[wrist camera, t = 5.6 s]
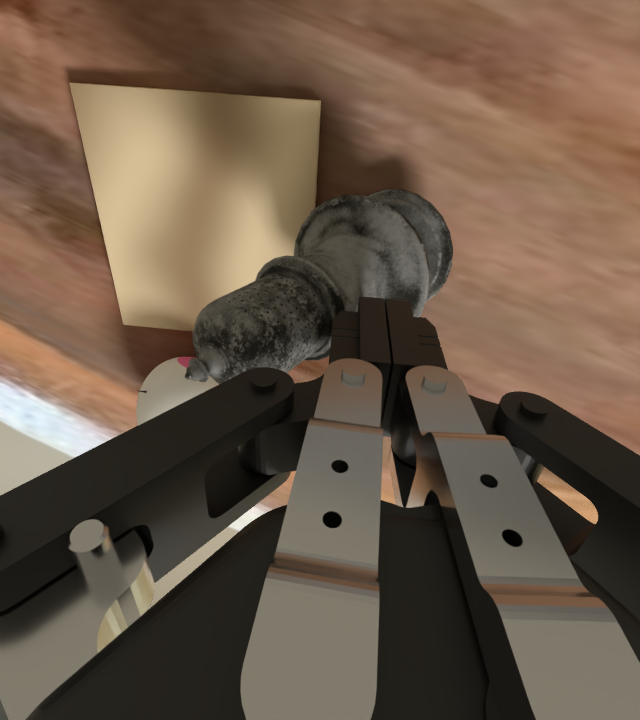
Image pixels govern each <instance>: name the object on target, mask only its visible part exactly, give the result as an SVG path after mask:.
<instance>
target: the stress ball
mask: <svg viewBox="0 0 640 720" xmlns="http://www.w3.org/2000/svg"><path fill="white" fill-rule="evenodd" d="M191 358H195V357H177V358H173V359H169V360H167V361H165V362H163V363H161V364H160V365H158V366H157V367H156V368H154V369H153V370H152V371H151V372H150V374H149V375H148V376H147V378H146V379H145V381H144V383H143V384H142V387H141V389H140V392H139V395H138V400H137V411H136V414H137V424H138V425H140V424H142V423H144V422H146V421H148V420H150V419H152V418H154V417H156V416H158V415H160V414H162V413H164V412H166V411H168V410H170V409H172V408H174V407H176V406H178V405H180V404H182V403H184V402H186V401H188V400H189V399H191V398H193V397H195V396H197V395H199V394H201V393H203V392H205V391H207V390H209V389H211V388H213V387H215V386H217V385H219V384H218V383H217V382H216V381H215V380H214V379H212V378H211V377H210V376H208V380H207V381H206V382H200V381H193V380H191V379H190V380H187V379H186V378H185V374H186V368H187V367H188V366H189V360H190V359H191ZM197 359H198V358H197Z"/></svg>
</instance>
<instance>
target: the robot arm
mask: <svg viewBox="0 0 640 720" xmlns="http://www.w3.org/2000/svg"><path fill="white" fill-rule="evenodd" d="M383 436H388V437H391V447H390V452H389V457H388V461H389V467H390V473H391V478H392V484H393V490H394V495H395V501H396V505H395V504H391V503H388V502H385V501H382V500H381V475H382V450H383ZM544 467H546V468H547V469H548V470H550V471H551V472H552V473H554V474H555V475H557V476H558V477H559V478H561V479H562V480H563V481H565V482H566V483H568V484H569V485H570V486H572V487H573V488H574V489H576V490H577V491H579V492H580V493H581V494H583V495H584V496H585V497H587V498H588V499H589V500H590V501H591V502H592V503H593V504H594V506H595V507H596V509H597V512H598V521H597V523H596V525H595V524H593V523H591V522H589V521H588V520H586V519H585V518H584V517H583V516H581V515H580V514H579V513H577V512H576V511H575V510H573V509H572V508H571V507H569V506H568V505H567V504H566V503H564V502H563V501H562V500H560V499H559V498H558V497H556V496H555V495H554V494H552V493H551V492H550V491H549V490H547V489H546V488H545V487H543V486H542V485H541V484H539V483H538V482H537V480H538V478H539V476H540V474H541V472H542V470H543V468H544ZM291 471H296V474H295V478H294V482H293V485H292V489H291V493H290V497H289V501H288V505H285V506H282V507H279V508H276V509H273V510H271V511H269V512H267V513H265V514H263V515H261V516H260V517H258V518H257V519H255V520H254V521H252V522H251V523H249V524H248V525H247V526H245V527H244V528H243V529H242V530H241V531H239V532H238V533H237V534H236V535H235V536H234V537H233V538H231V539H230V540H229V541H228V542H227V543H226V544H225V545H223V546H222V547H221V548H220V549H219V550H217V551H216V552H215V553H214V554H213V555H212V556H210V557H209V558H208V559H207V560H206V561H205V562H204V563H202V564H201V565H200V566H199V567H198V568H196V569H195V570H194V571H193V572H192V573H191V574H189V575H188V576H187V577H186V578H185V579H184V580H183V581H181V582H180V583H179V584H178V585H177V586H175V588H173V589H172V590H171V591H170V592H169V593H167V594H166V595H165V596H164V597H163V598H161V599H160V600H159V601H158V602H157V603H156V604H155V605H153V606H152V607H151V608H150V609H149V610H148V608H149V607H150V605H151V602H152V600H153V596H154V590H155V589H154V588H155V584H154V583H155V582H157V581H158V580H159V579H161V578H162V577H163V576H164V575H166V574H167V573H168V572H169V571H171V570H172V569H173V568H175V567H176V566H177V565H178V564H180V563H181V562H182V561H184V560H185V559H186V558H187V557H189V556H190V555H191V554H193V553H194V552H195V551H197V550H198V549H199V548H200V547H202V546H203V545H204V544H206V543H207V542H208V541H209V540H211V539H212V538H213V537H215V536H216V535H217V534H218V533H220V532H221V531H222V530H224V529H225V528H226V527H228V526H229V525H230V524H231V523H233V522H234V521H235V520H237V519H238V518H239V517H240V516H242V515H243V514H244V513H246V512H247V511H248V510H249V509H251V508H252V507H253V506H255V505H256V504H257V503H258V502H260V501H261V500H262V499H264V498H265V497H266V496H267V495H269V494H270V493H271V492H273V491H274V490H275V489H276V488H278V487H279V486H280V485H282V484H283V483H284V482H285V481H286V480H287V479H288V477H289V476H290V473H291ZM0 700H1V702H2V704H3V706H4V709H5V712H6V714H7V716H8V719H9V720H640V456H639V455H638V454H636V453H635V452H633V451H631V450H630V449H628V448H626V447H625V446H623V445H621V444H620V443H618V442H617V441H615V440H613V439H612V438H610V437H608V436H607V435H605V434H603V433H602V432H600V431H598V430H597V429H595V428H594V427H592V426H590V425H589V424H587V423H585V422H584V421H582V420H580V419H579V418H577V417H576V416H574V415H572V414H571V413H569V412H567V411H566V410H564V409H562V408H561V407H559V406H558V405H556V404H554V403H553V402H551V401H549V400H547V399H546V398H543V397H541V396H539V395H536V394H532V393H528V392H510V393H507V394H505V395H504V396H503V397H502V398H501V401H500V403H499V404H496V403H492V402H489V401H485V400H482V399H479V398H476V397H473V396H471V395H469V394H468V393H467V390H466V388H465V386H464V384H463V382H462V380H461V379H460V378H459V377H458V376H457V375H455V374H454V373H452V372H450V371H448V368H447V365H446V362H445V359H444V355H443V352H442V349H441V347H440V342H439V339H438V335H437V332H436V329H435V327H434V326H433V325H432V324H431V323H430V322H429V321H428V320H427V319H426V318H421V317H413V313H412V308H411V304H410V301H409V300H398V299H386V298H385V300H384V298H374V297H363V296H360V297H359V302H358V310H357V312H352V311H340V312H339V313H338V314H337V315H336V316H335V317H334V318H333V326H332V337H331V346H330V356H329V365H328V366H327V368H326V370H325V373H324V374H323V375H322V376H321V377H319V378H317V379H315V380H312V381H309V382H303V383H295V384H294V382H293V379H292V378H291V377H290V376H289V375H288V374H287V373H285V372H284V371H281V370H279V369H275V368H269V367H260V368H253V369H250V370H247V371H245V372H243V373H241V374H239V375H237V376H235V377H233V378H231V379H229V380H227V381H225V382H223V383H221V384H219V385H217V386H215V387H213V388H211V389H209V390H207V391H205V392H203V393H201V394H199V395H197V396H195V397H193V398H191V399H189V400H188V401H186V402H184V403H182V404H180V405H178V406H176V407H174V408H172V409H170V410H168V411H166V412H164V413H162V414H160V415H158V416H156V417H154V418H152V419H150V420H148V421H146V422H144V423H142V424H140V425H138V426H136V427H134V428H132V429H131V430H129V431H127V432H125V433H123V434H121V435H119V436H117V437H115V438H113V439H111V440H109V441H107V442H105V443H103V444H101V445H99V446H97V447H95V448H93V449H91V450H89V451H87V452H85V453H83V454H81V455H79V456H77V457H75V458H74V459H72V460H70V461H68V462H66V463H64V464H62V465H60V466H58V467H56V468H54V469H52V470H50V471H48V472H46V473H44V474H42V475H40V476H38V477H36V478H34V479H33V480H30V481H28V482H26V483H25V484H22V485H20V486H19V487H17V488H15V489H13V490H11V491H9V492H7V493H5V494H3V495H1V496H0Z"/></svg>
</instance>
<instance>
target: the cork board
mask: <svg viewBox="0 0 640 720" xmlns="http://www.w3.org/2000/svg"><path fill="white" fill-rule="evenodd" d="M69 84H70V88H71V93H72V97H73V102H74V106H75V111H76V115H77V120H78V124H79V128H80V133H81V137H82V142H83V146H84V151H85V155H86V160H87V164H88V169H89V173H90V178H91V182H92V187H93V191H94V196H95V200H96V204H97V209H98V213H99V218H100V222H101V227H102V231H103V236H104V240H105V245H106V249H107V254H108V258H109V263H110V267H111V272H112V276H113V280H114V285H115V289H116V294H117V298H118V303H119V307H120V312H121V316H122V321H123V325H131V326H141V327H152V328H163V329H173V330H184V331H193V329H194V325H195V322H196V319H197V316H198V315H199V313H200V312H201V310H202V309H203V308H204V307H206V306H207V305H208V304H209V303H211V302H212V301H214V300H216V299H218V298H220V297H222V296H224V295H226V294H228V293H231V292H233V291H235V290H237V289H239V288H241V287H243V286H246V285H248V284H250V283H252V282H254V281H255V280H256V277H257V274H258V272H259V271H260V270H261V268H262V267H263V266H264V264H266V263H268V262H269V261H271V260H272V259H274V258H277V257H281V256H286V255H288V256H294V248H295V241H296V238H297V235H298V233H299V230H300V228H301V225H302V223H303V222H304V221H305V219H306V218H307V217H308V215H309V214H310V213H311V211H312V210H314V209H315V208H316V190H317V171H318V151H319V132H320V113H321V101H320V100H307V99H293V98H280V97H266V96H253V95H239V94H226V93H212V92H199V91H185V90H172V89H158V88H145V87H131V86H118V85H105V84H91V83H69Z"/></svg>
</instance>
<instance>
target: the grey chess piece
mask: <svg viewBox="0 0 640 720" xmlns="http://www.w3.org/2000/svg"><path fill="white" fill-rule="evenodd" d="M452 256H453V246H452V241H451V235H450V231H449V229H448V227H447V225H446V223H445V221H444V219H443V217H442V215H441V214H440V213H439V212H438V211H437V209H436V208H435V207H434V206H433V205H432V204H431V203H430V202H428V201H427V200H426V199H424V198H423V197H421V196H420V195H418V194H415V193H412V192H409V191H406V190H403V189H386V190H383V191H379V192H376V193H373V194H371V195H369V196H368V197H367V196H364V195H343V196H340V197H336V198H333V199H330V200H327V201H325V202H324V203H322V204H321V205H319V206H318V207H317V208H315V209H314V210H312V211H311V213H310V214H309V215H308V217H307V218H306V219H305V221H304V222H303V223H302V225H301V228H300V230H299V233H298V235H297V238H296V241H295V248H294V256H288V255H286V256H281V257H277V258H274V259H272V260H271V261H269V262H268V263H266V264H264V266H263V267H262V268H261V270H260V271H259V272H258V274H257V277H256V280H255V281H254V282H252V283H250V284H248V285H246V286H243V287H241V288H239V289H237V290H235V291H233V292H231V293H228V294H226V295H224V296H222V297H220V298H218V299H216V300H214V301H212V302H211V303H209V304H208V305H207V306H206V307H204V308H203V309H202V310H201V312H200V313H199V315H198V316H197V319H196V322H195V325H194V329H193V344H194V349H195V352H196V356H197V358H198V359H197V358H191V359H190V360H189V366H188V367H187V368H186V374H185V378H186V379H187V380H190V379H191V380H193V381H200V382H206V381H207V380H208V376H210V377H211V378H212V379H214V380H215V381H216V382H217V383H218V384H221V383H223V382H225V381H227V380H229V379H231V378H233V377H235V376H237V375H239V374H241V373H243V372H245V371H247V370H250V369H253V368H260V367H269V368H275V369H279V370H281V371H284V372H285V373H288V372H289V371H290V370H291V369H293V368H294V367H295V366H297V365H298V364H299V363H301V362H302V361H303V360H320V359H323V358H326V357H328V356H329V355H330V346H331V337H332V326H333V318H334V317H335V316H336V315H337V314H338V313H339V312H340V311H352V312H357V310H358V302H359V297H360V296H363V297H374V298H384V300H385V298H386V299H398V300H409V301H410V304H411V308H412V313H413V317H419V316H420V315H421V314H422V311H423V308H424V305H425V302H427V301H428V300H429V299H431V298H432V297H433V296H434V295H436V294H437V293H438V292H439V290H440V289H441V287H442V286H443V285H444V283H445V282H446V280H447V277H448V275H449V272H450V269H451V266H452Z"/></svg>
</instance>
